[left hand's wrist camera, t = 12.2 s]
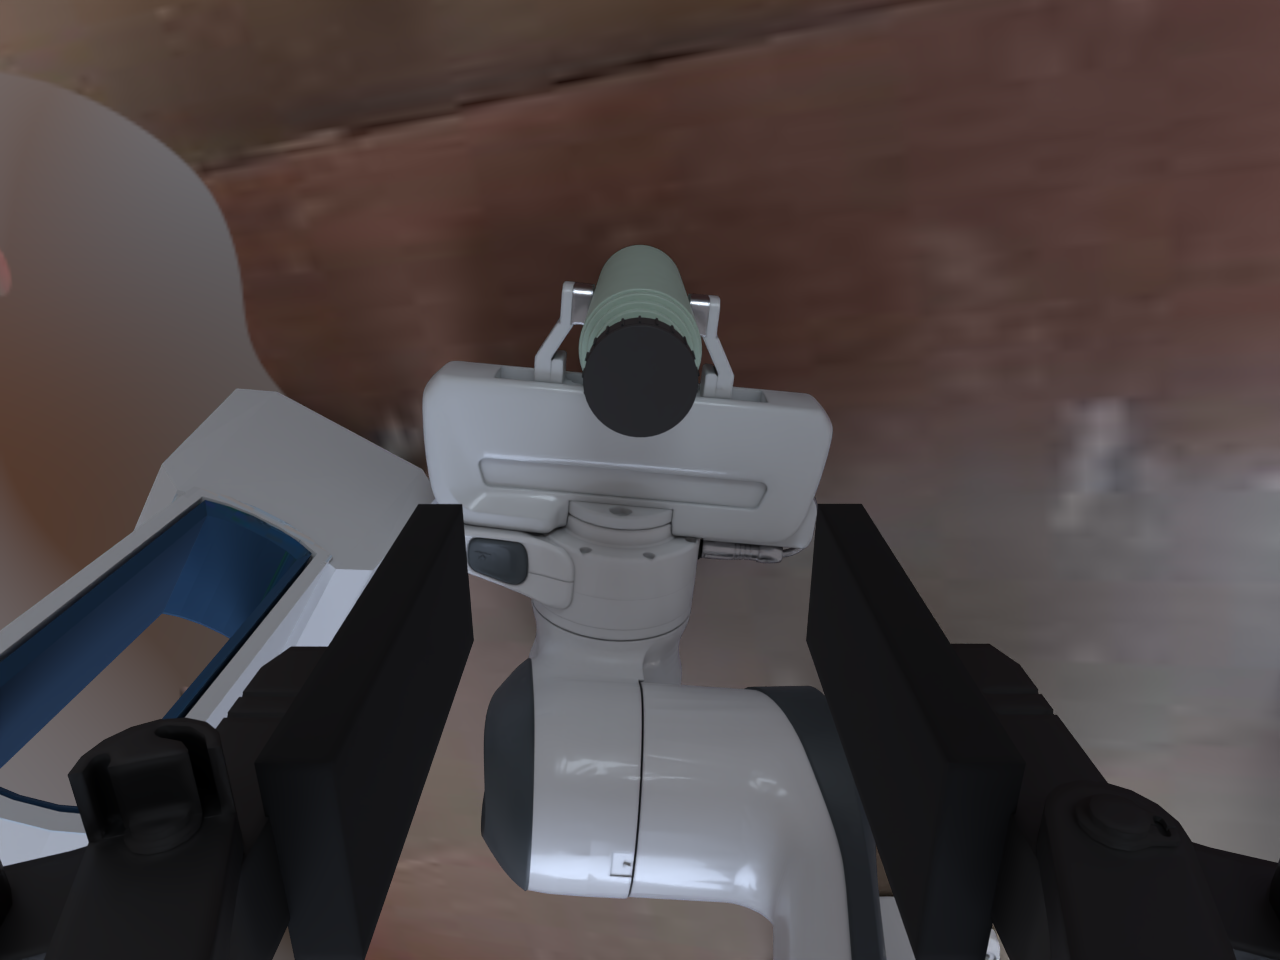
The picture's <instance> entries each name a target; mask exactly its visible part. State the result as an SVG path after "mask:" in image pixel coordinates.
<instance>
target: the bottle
mask: <svg viewBox="0 0 1280 960" xmlns="http://www.w3.org/2000/svg"><path fill="white" fill-rule="evenodd" d="M638 316H641V317H645V318H652V319H655V318H658V320H659V321H661V322H664V323H666V324H668V325H670V326H671V325H673V326H674V329H675V330H677V331H678V332H679V333H680V334H681V335H682V336H683V337H684V336H685V337H686V340H687V343H688V345H689V347H690V349H691V351H692V350H693V351H694V354H695V358H696V359H695V364H696V366H697V368H698V369H699V366H700V362H701V356H702V342H701V336H700V332H699V329H698V326H697V323H696V320H695V317H694V314H693V311H692V308H691V305H690V302H689V299H688V296H687V294H686V291H685V288H684V285H683V282H682V279H681V276H680V273H679V271H678V268H677V267H676V265H675V263H674V262H673V261H672V259H671V258H670V257H669V256H668V255H666V254H665V253H664V252H662V251H661V250H659V249H657V248H654V247H651V246H646V245H634V246H629V247H626V248H623V249H621V250H619V251H618V252H616V253H615V254H614V255H612V256H611V257H610V258H609V259H608V261H607V262H606V263H605V265H604V267H603V268H602V271H601V273H600V276H599V279H598V282H597V285H596V288H595V291H594V294H593V297H592V300H591V303H590V306H589V309H588V313H587V316H586V319H585V322H584V325H583V328H582V331H581V335H580V339H579V358H580V364H581V367H582V370H583V369H584V368H585V365H586V361H585V358H586V354H587V352H589V351H590V349H591V347H592V345H593V342H594V338H595V337H596V338H598V336H599V335H600V334H601V333H602V332H603V331H605V330H606V327H607V326H609V327H610V326H612V325H613V324H615V323H617V322H620V321H621V319H622V318H624V320H625V319H629V318H636V317H638Z"/></svg>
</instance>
